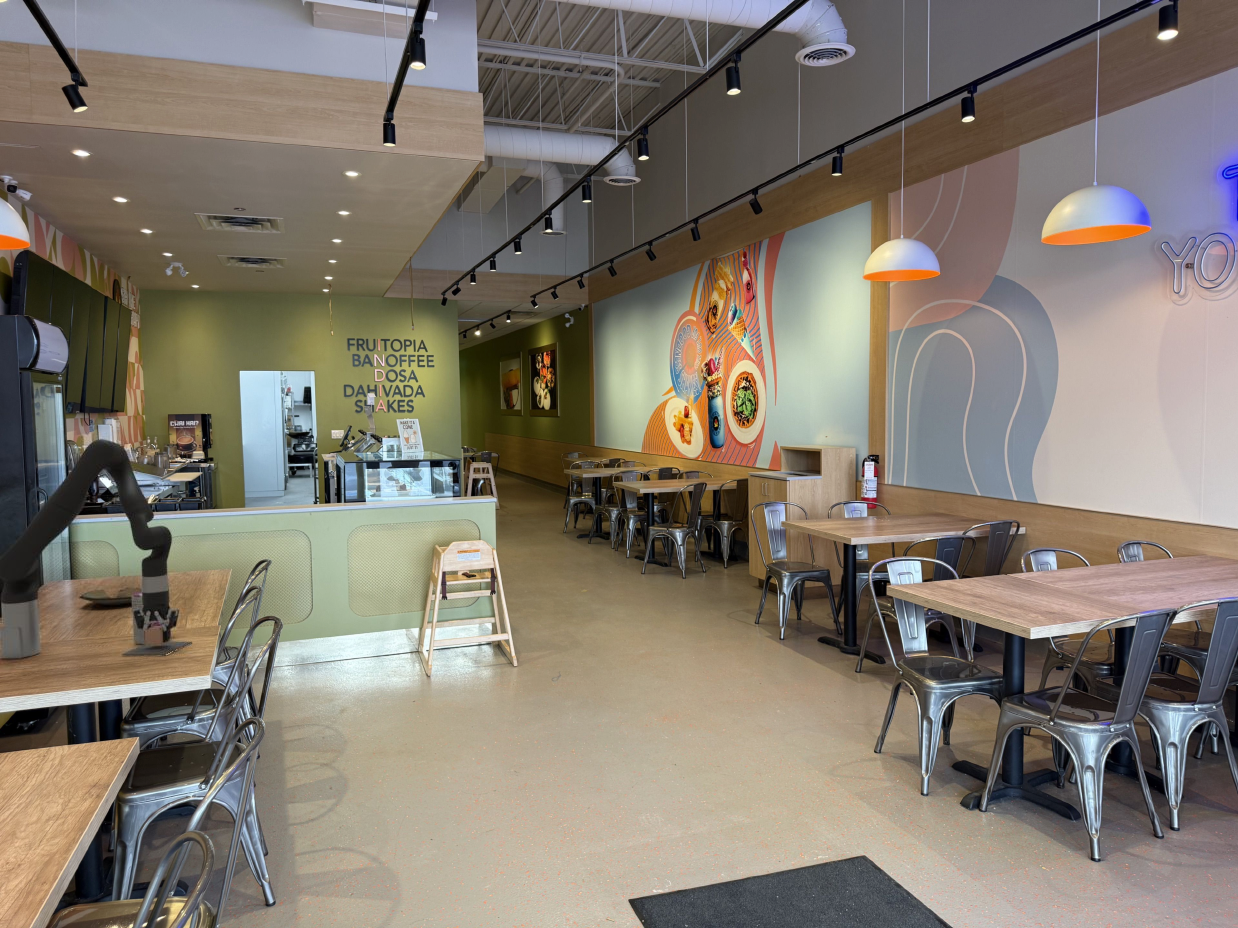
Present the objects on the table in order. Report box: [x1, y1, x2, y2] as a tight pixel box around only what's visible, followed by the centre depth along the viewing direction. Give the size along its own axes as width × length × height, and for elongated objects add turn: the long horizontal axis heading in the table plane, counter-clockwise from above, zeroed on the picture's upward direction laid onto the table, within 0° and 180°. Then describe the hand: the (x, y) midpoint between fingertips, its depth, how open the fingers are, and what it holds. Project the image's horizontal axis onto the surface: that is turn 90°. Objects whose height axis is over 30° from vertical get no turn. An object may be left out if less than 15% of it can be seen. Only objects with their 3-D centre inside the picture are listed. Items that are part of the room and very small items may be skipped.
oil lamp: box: [78, 587, 142, 606], centre depth 319 cm, size 22×30×8 cm
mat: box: [121, 641, 193, 656], centre depth 253 cm, size 14×14×1 cm
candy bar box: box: [131, 593, 172, 645], centre depth 264 cm, size 11×5×16 cm, turn 168°
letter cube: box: [145, 626, 171, 646], centre depth 253 cm, size 5×5×5 cm
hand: (157, 641), depth 253 cm, fingers closed on letter cube, 5 cm apart
